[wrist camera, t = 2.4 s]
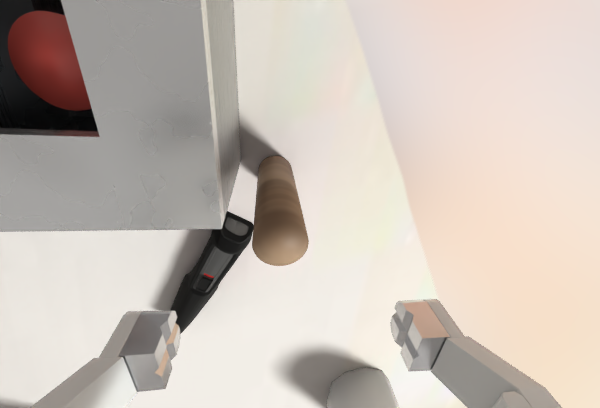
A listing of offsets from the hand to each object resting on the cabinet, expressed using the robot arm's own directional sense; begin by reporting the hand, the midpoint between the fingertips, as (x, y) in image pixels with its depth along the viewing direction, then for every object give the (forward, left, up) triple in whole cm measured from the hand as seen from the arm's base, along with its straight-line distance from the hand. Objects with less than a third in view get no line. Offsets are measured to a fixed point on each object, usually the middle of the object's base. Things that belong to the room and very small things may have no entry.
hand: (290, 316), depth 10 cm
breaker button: (+8, +10, -11) cm, 17 cm away
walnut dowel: (0, 0, -16) cm, 16 cm away
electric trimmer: (-11, +7, -16) cm, 21 cm away
